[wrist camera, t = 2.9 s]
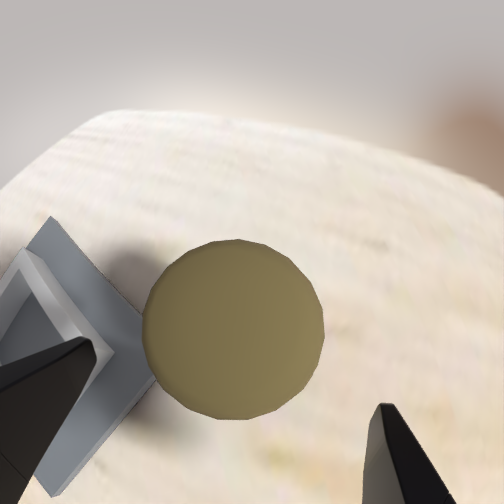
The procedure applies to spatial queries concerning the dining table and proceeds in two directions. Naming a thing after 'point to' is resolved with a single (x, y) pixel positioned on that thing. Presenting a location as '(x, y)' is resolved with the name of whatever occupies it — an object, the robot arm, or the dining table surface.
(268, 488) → the dining table surface
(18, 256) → the socket plate
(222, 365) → the cork
